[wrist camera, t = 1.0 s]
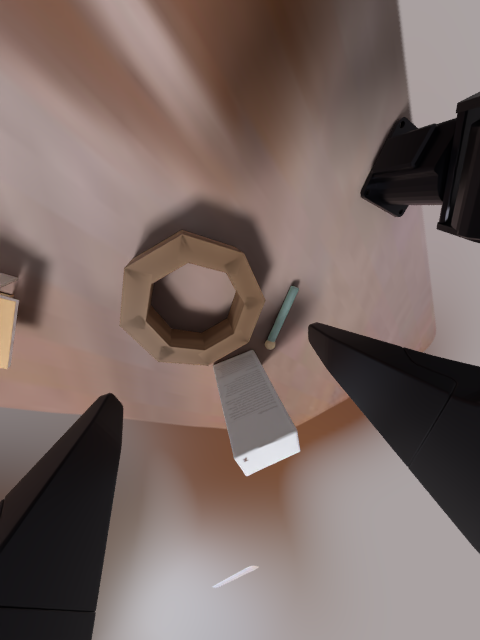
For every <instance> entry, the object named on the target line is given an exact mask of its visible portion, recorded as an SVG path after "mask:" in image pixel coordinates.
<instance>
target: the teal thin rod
mask: <svg viewBox="0 0 480 640" xmlns="http://www.w3.org/2000/svg"><path fill="white" fill-rule="evenodd" d="M298 290H299V288H297V287H295V286H291V287H290V290H289V292H288V294H287V296H286V299H285V301H284V303H283V305H282V308H281V310H280V312H279V314H278V317H277V319H276V321H275V323H274V326H273V328H272V330H271V332H270V335H269V337H268V339H267V341H266V342H265V347H266V348H267V349H269V350H272V349H274V347H275V340H276V338H277V335H278V333H279V331H280V329H281V327H282V325H283V323H284V320H285V318H286V316H287V314H288V312H289V310H290V308H291V305H292V303H293V301H294V299H295V297H296V295H297V292H298Z"/></svg>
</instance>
